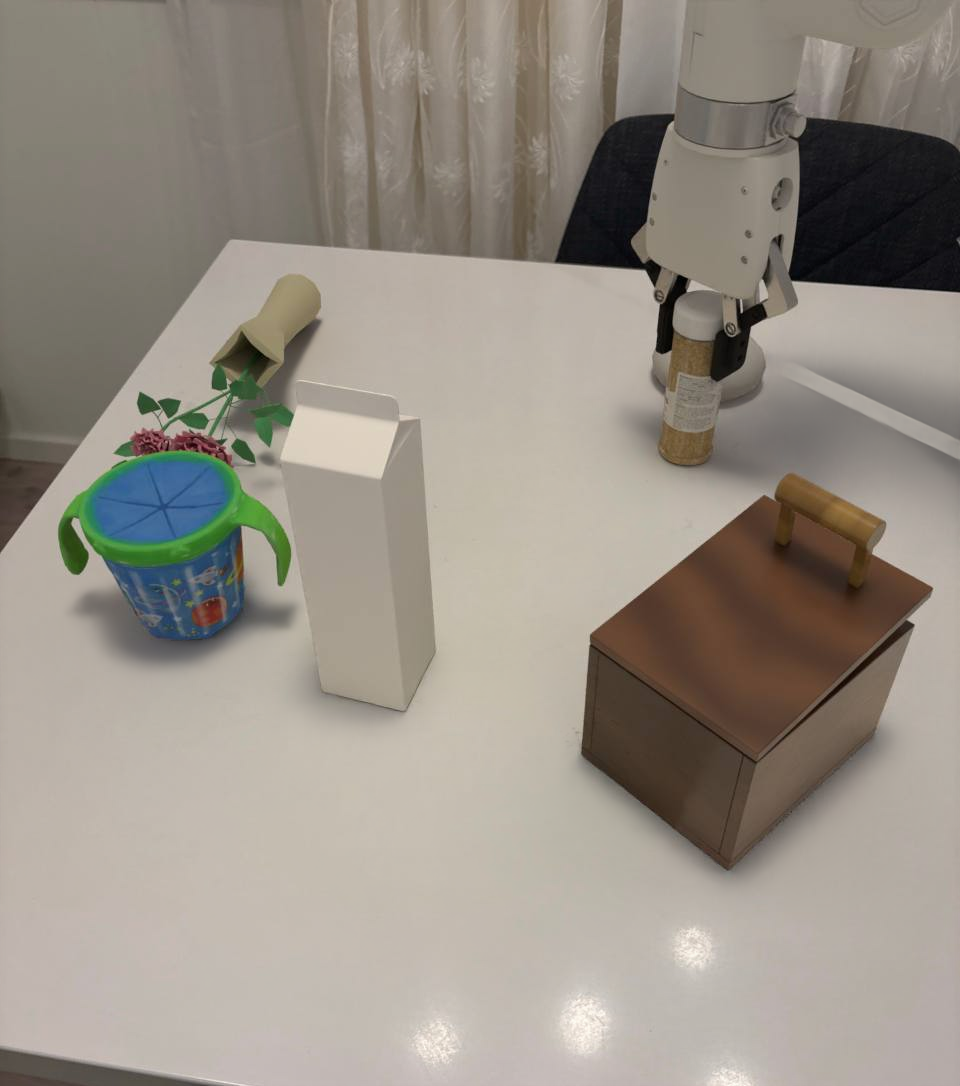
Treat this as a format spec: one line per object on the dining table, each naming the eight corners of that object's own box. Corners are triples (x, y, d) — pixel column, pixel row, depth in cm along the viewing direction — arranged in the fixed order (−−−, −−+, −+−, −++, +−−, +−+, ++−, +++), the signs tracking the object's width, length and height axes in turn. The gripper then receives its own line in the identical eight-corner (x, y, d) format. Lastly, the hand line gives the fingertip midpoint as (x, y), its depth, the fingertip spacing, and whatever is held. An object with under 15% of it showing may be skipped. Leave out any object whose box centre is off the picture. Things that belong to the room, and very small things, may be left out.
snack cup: (57, 645, 75) (10, 532, 68) (124, 548, 82) (87, 436, 75) (269, 678, 73) (243, 564, 65) (319, 575, 80) (300, 462, 72)
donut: (627, 378, 98) (713, 422, 92) (629, 344, 95) (717, 387, 90) (700, 339, 102) (785, 379, 97) (704, 305, 100) (792, 344, 94)
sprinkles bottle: (664, 432, 92) (682, 283, 82) (717, 441, 91) (742, 292, 81) (651, 462, 89) (669, 312, 79) (707, 473, 88) (731, 321, 78)
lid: (762, 503, 66) (772, 431, 62) (931, 597, 60) (954, 524, 56) (589, 643, 61) (587, 574, 56) (756, 763, 54) (768, 695, 50)
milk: (356, 632, 76) (316, 349, 60) (437, 650, 74) (418, 366, 59) (320, 694, 71) (267, 408, 56) (406, 714, 70) (376, 427, 54)
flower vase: (337, 400, 109) (249, 566, 80) (219, 361, 108) (86, 516, 79) (365, 287, 103) (282, 423, 74) (240, 245, 102) (105, 366, 73)
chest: (728, 639, 74) (750, 529, 67) (874, 734, 68) (915, 624, 61) (580, 753, 68) (588, 644, 61) (727, 871, 61) (755, 764, 54)
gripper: (878, 132, 68) (818, 385, 81) (671, 68, 77) (647, 305, 90) (806, 166, 64) (756, 425, 77) (598, 95, 73) (585, 337, 86)
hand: (698, 358), depth 83 cm, fingers open, 4 cm apart
